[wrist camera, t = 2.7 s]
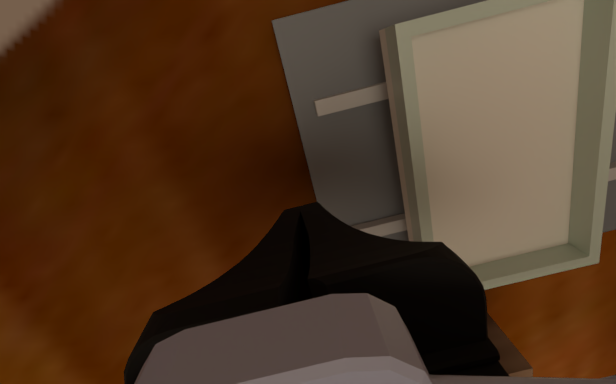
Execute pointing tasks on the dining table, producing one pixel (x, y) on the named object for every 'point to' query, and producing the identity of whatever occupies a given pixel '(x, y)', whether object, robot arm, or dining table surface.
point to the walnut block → (508, 352)
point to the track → (359, 109)
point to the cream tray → (506, 131)
